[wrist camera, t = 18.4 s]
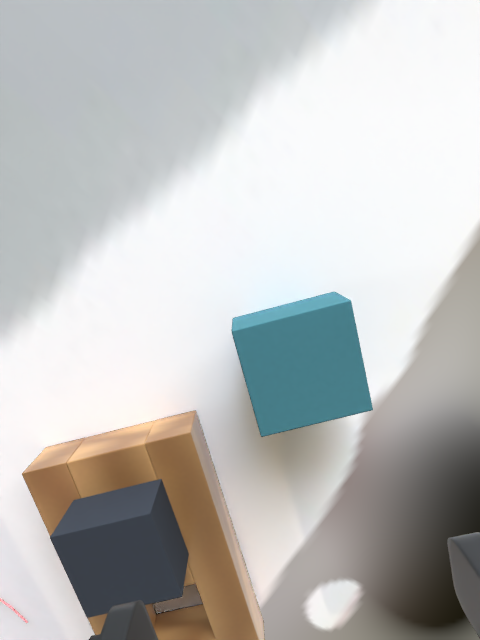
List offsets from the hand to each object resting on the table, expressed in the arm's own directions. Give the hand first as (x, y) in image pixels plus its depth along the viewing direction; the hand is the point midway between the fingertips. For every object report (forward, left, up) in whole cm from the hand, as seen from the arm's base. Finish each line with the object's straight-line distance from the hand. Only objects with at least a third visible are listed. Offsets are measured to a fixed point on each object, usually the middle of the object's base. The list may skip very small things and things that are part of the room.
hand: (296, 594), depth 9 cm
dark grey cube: (-11, -7, -16) cm, 20 cm away
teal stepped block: (+2, +2, -16) cm, 16 cm away
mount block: (-11, -11, -16) cm, 22 cm away
